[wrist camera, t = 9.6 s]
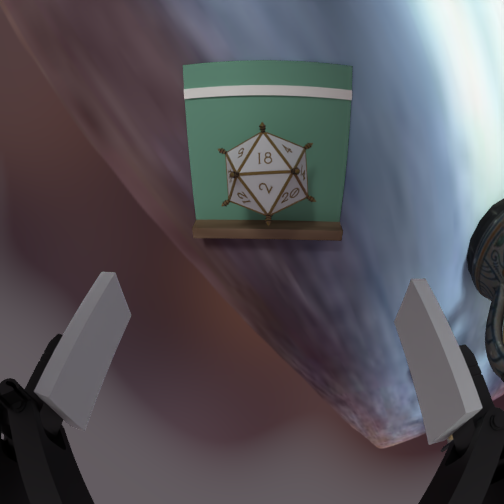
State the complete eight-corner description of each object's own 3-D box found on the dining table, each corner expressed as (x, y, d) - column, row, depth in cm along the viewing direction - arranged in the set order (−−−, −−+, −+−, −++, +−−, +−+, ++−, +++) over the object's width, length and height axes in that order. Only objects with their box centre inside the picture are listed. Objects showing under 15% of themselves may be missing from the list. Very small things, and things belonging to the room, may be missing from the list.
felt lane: (184, 65, 24) (182, 65, 23) (351, 66, 23) (352, 66, 22) (197, 217, 33) (195, 220, 33) (338, 220, 32) (339, 222, 32)
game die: (277, 137, 31) (340, 121, 22) (282, 213, 33) (345, 222, 24) (198, 137, 27) (240, 111, 18) (204, 222, 29) (249, 235, 20)
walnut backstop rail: (197, 217, 33) (192, 228, 31) (338, 220, 32) (342, 231, 30) (198, 227, 34) (193, 237, 32) (337, 229, 33) (341, 240, 31)
